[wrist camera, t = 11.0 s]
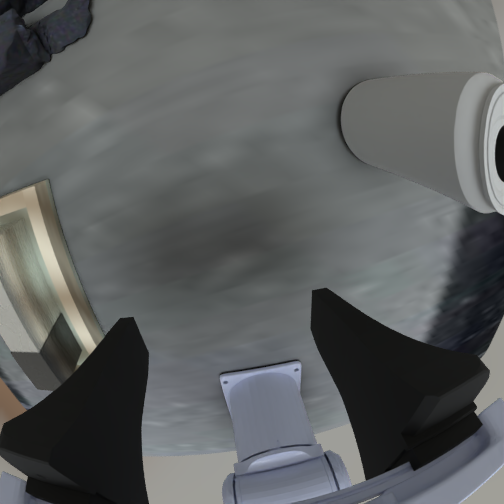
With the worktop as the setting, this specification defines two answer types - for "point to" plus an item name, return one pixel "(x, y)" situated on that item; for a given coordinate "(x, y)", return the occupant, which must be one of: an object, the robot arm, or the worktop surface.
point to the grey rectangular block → (32, 313)
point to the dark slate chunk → (36, 37)
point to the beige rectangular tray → (54, 260)
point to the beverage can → (433, 132)
